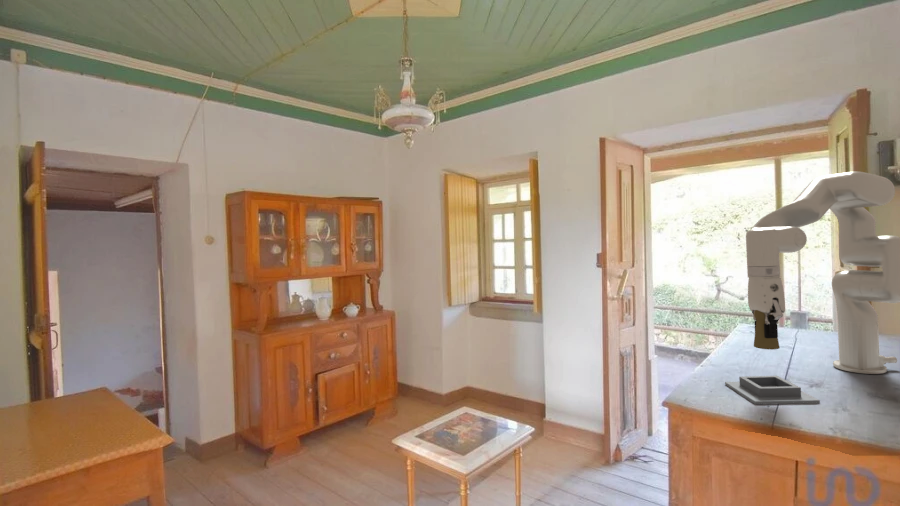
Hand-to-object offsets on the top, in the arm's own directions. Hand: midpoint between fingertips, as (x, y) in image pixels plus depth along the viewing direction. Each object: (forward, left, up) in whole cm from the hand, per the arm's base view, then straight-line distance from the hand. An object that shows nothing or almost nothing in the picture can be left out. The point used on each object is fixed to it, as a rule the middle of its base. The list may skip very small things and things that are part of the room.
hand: (766, 335), depth 124 cm
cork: (0, 0, -3) cm, 3 cm away
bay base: (0, 0, -17) cm, 17 cm away
